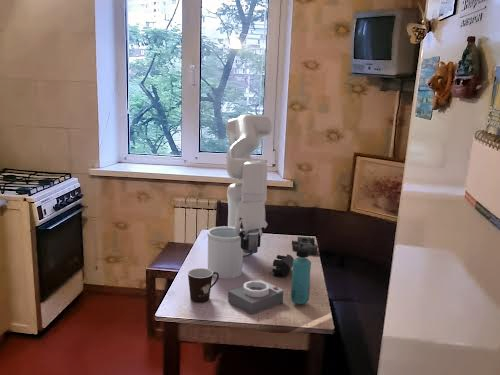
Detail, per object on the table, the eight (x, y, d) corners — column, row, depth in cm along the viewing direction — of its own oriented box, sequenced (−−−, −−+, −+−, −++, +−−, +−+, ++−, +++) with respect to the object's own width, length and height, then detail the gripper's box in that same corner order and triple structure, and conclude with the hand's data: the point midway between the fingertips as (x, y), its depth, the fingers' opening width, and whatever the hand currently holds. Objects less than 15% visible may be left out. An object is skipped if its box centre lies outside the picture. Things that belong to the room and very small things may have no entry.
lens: (239, 250, 159) (240, 228, 158) (250, 247, 163) (251, 226, 161) (249, 254, 155) (250, 231, 154) (261, 251, 159) (262, 229, 158)
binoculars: (293, 254, 208) (293, 241, 206) (291, 243, 223) (291, 231, 222) (316, 255, 207) (317, 242, 206) (313, 244, 223) (314, 232, 222)
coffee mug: (189, 306, 152) (189, 278, 150) (185, 295, 160) (186, 269, 158) (223, 303, 155) (224, 276, 153) (217, 293, 163) (218, 266, 161)
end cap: (289, 279, 179) (290, 263, 178) (272, 276, 181) (272, 260, 179) (293, 270, 188) (294, 255, 187) (277, 268, 190) (278, 252, 189)
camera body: (228, 301, 157) (228, 285, 156) (259, 290, 167) (259, 275, 166) (251, 314, 148) (252, 297, 147) (282, 302, 158) (283, 286, 157)
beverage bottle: (312, 304, 158) (316, 249, 154) (301, 310, 153) (305, 254, 149) (297, 298, 162) (300, 245, 158) (286, 303, 157) (289, 249, 153)
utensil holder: (243, 281, 175) (245, 237, 172) (205, 280, 174) (206, 236, 171) (242, 266, 189) (244, 226, 186) (207, 266, 189) (208, 225, 185)
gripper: (262, 192, 164) (260, 240, 167) (226, 198, 153) (224, 249, 156) (277, 196, 159) (274, 246, 162) (241, 202, 147) (239, 255, 150)
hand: (250, 247), depth 159 cm, fingers closed on lens, 5 cm apart
